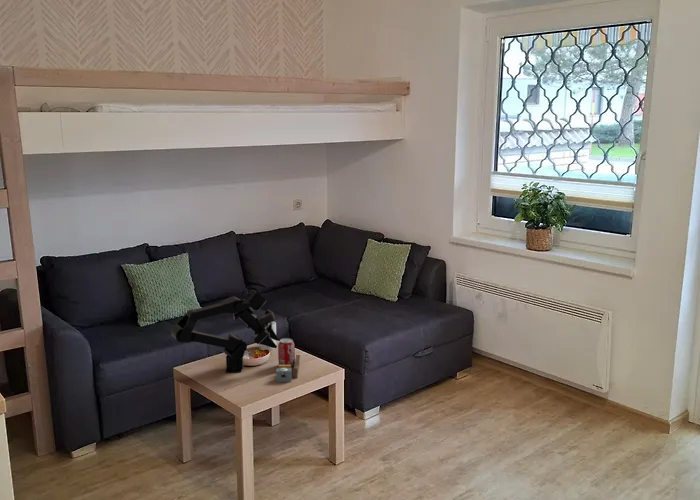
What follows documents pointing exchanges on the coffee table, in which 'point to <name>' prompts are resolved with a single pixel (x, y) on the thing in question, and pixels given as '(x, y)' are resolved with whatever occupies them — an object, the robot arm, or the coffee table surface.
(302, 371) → the coffee table surface
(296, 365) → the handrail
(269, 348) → the mug
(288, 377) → the gauge cabinet
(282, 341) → the soda can
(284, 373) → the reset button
